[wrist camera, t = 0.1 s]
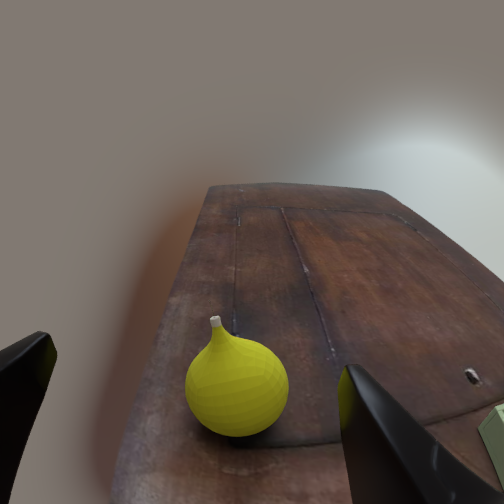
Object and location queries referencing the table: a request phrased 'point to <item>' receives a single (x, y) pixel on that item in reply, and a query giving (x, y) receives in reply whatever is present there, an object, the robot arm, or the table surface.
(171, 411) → the table surface
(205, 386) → the ornament
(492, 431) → the pale green tray
